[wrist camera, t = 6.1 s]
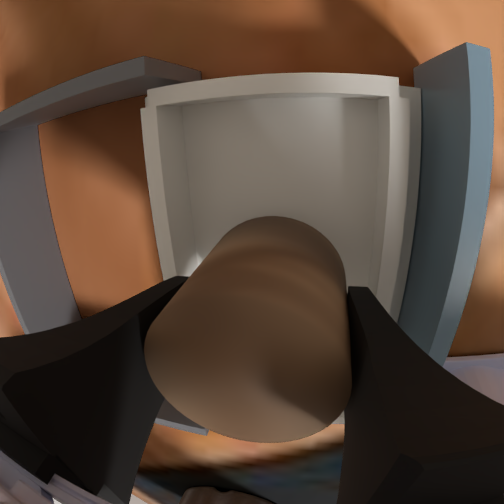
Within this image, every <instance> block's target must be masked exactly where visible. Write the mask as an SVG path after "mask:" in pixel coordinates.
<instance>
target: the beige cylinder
mask: <svg viewBox="0 0 504 504" xmlns="http://www.w3.org/2000/svg"><path fill="white" fill-rule="evenodd" d="M144 355H145V362H146V366H147V369H148V371H149V374H150V376H151V378H152V380H153V382H154V384H155V385H156V387H157V388H158V390H159V391H160V393H161V394H162V395H163V396H164V397H165V398H166V400H167V401H168V402H169V403H170V404H171V405H172V406H173V407H175V408H176V409H177V410H178V411H179V412H181V413H182V414H183V415H184V416H186V417H187V418H189V419H190V420H192V421H193V422H195V423H197V424H199V425H201V426H202V427H204V428H206V429H209V430H211V431H213V432H216V433H218V434H221V435H224V436H227V437H231V438H234V439H239V440H244V441H250V442H258V443H279V442H288V441H293V440H298V439H302V438H305V437H308V436H311V435H313V434H315V433H317V432H319V431H321V430H323V429H324V428H326V427H328V426H329V425H330V424H331V423H333V422H334V421H335V420H336V419H337V418H338V417H339V416H340V415H341V413H342V412H343V411H344V409H345V407H346V406H347V404H348V401H349V398H350V395H351V389H352V370H351V345H350V327H349V314H348V300H347V286H346V276H345V270H344V266H343V262H342V260H341V258H340V255H339V254H338V252H337V250H336V249H335V247H334V246H333V245H332V243H331V242H330V241H329V240H328V239H327V238H326V237H325V236H324V235H323V234H322V233H320V232H319V231H318V230H316V229H315V228H313V227H312V226H310V225H308V224H306V223H304V222H301V221H298V220H296V219H292V218H287V217H280V216H264V217H258V218H253V219H250V220H247V221H245V222H243V223H240V224H238V225H237V226H235V227H234V228H232V229H231V230H230V231H228V232H227V233H226V234H225V235H224V236H223V237H222V239H221V240H220V241H219V242H218V243H217V244H216V246H215V247H214V248H213V249H212V250H211V252H210V253H209V254H208V255H207V256H206V258H205V259H204V260H203V261H202V262H201V264H200V265H199V266H198V267H197V268H196V270H195V271H194V272H193V273H192V274H191V276H190V277H189V278H188V279H187V281H186V282H185V283H184V284H183V285H182V287H181V288H180V289H179V290H178V292H177V293H176V294H175V295H174V296H173V298H172V299H171V300H170V301H169V303H168V304H167V305H166V306H165V308H164V309H163V310H162V311H161V313H160V314H159V315H158V316H157V318H156V319H155V320H154V321H153V323H152V324H151V326H150V328H149V330H148V332H147V335H146V338H145V345H144Z"/></svg>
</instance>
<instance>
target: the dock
mask: <svg viewBox="0 0 504 504" xmlns="http://www.w3.org/2000/svg"><path fill="white" fill-rule="evenodd" d="M200 80H201V71H198V70H194V69H191V68H188V67H184V66H181V65H177V64H173V63H170V62H166V61H162V60H158V59H154V58H150V57H146V56H142V57H138V58H135V59H131V60H128V61H124V62H121V63H117V64H114V65H111V66H108V67H105V68H102V69H99V70H96V71H93V72H90V73H87V74H84V75H82V76H79V77H76V78H74V79H71V80H69V81H66V82H64V83H61V84H59V85H56V86H54V87H52V88H49V89H47V90H45V91H42V92H40V93H38V94H36V95H34V96H32V97H29V98H27V99H25V100H23V101H21V102H19V103H17V104H15V105H13V106H11V107H9V108H7V109H6V110H4V111H2V112H0V273H1V276H2V279H3V282H4V284H5V287H6V290H7V292H8V295H9V298H10V300H11V303H12V305H13V308H14V310H15V312H16V315H17V317H18V319H19V322H20V324H21V326H22V328H23V331H24V333H25V335H26V334H31V333H36V332H41V331H45V330H49V329H53V328H56V327H60V326H63V325H67V324H70V323H73V322H76V321H79V320H82V319H81V316H80V313H79V310H78V307H77V305H76V302H75V299H74V296H73V293H72V290H71V287H70V283H69V280H68V277H67V274H66V270H65V267H64V263H63V260H62V256H61V253H60V249H59V245H58V241H57V237H56V233H55V229H54V225H53V220H52V216H51V211H50V206H49V201H48V196H47V191H46V185H45V179H44V173H43V167H42V160H41V152H40V144H39V135H38V125H39V124H42V123H44V122H47V121H50V120H53V119H56V118H59V117H62V116H65V115H68V114H71V113H75V112H78V111H81V110H85V109H88V108H92V107H95V106H99V105H103V104H107V103H111V102H115V101H119V100H123V99H127V98H132V97H136V96H141V95H146V94H147V90H148V89H153V88H158V87H163V86H169V85H174V84H180V83H186V82H193V81H200ZM154 423H157V424H160V425H164V426H168V427H172V428H175V429H179V430H183V431H188V432H192V433H196V434H201V435H206V436H207V434H208V432H209V429H206V428H204V427H202V426H201V425H199V424H197V423H195V422H193V421H192V420H190V419H189V418H187V417H186V416H184V415H183V414H182V413H181V412H179V411H178V410H177V409H176V408H175V407H173V406H172V405H171V404H170V403H169V402H168V401H167V400H166V398H165V399H164V401H163V403H162V405H161V407H160V410H159V412H158V414H157V417H156V419H155V422H154Z"/></svg>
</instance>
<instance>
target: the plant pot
mask: <svg viewBox="0 0 504 504" xmlns="http://www.w3.org/2000/svg"><path fill="white" fill-rule="evenodd" d="M179 504H273V503H271V502H269V501H267V500H265V499H262V498H260V497H257V496H254V495H249V494H246V493H243V492H238V491H234V490H230V491H228V492H220V491H218V490H217V489H216V488H215V487H192V488H189V489H187V490H186V491H185V493H184V494H183V496H182V498H181V500H180V502H179Z"/></svg>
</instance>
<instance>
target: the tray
mask: <svg viewBox="0 0 504 504" xmlns="http://www.w3.org/2000/svg"><path fill="white" fill-rule="evenodd" d="M413 73H414V87H408V86H399V77H391V76H380V75H368V74H351V73H274V74H257V75H244V76H233V77H224V78H215V79H207V80H200V81H193V82H186V83H180V84H174V85H169V86H163V87H158V88H153V89H148V90H147V97H145V108H141V109H140V111H141V123H142V135H143V145H144V155H145V164H146V172H147V181H148V188H149V196H150V203H151V210H152V217H153V223H154V229H155V236H156V242H157V247H158V253H159V259H160V264H161V270H162V275H163V280H164V281H165V280H167V279H169V278H172V277H174V276H188V277H190V276H191V274H192V273H193V272H194V271H195V270H196V268H197V267H198V266H199V265H200V264H201V262H202V261H203V260H204V259H205V258H206V256H207V255H208V254H209V253H210V252H211V250H212V249H213V248H214V247H215V246H216V244H217V243H218V242H219V241H220V240H221V239H222V237H223V236H224V235H225V234H226V233H227V232H228V231H230V230H231V229H232V228H234V227H235V226H237V225H238V224H240V223H243V222H245V221H247V220H250V219H253V218H258V217H264V216H280V217H287V218H292V219H296V220H298V221H301V222H304V223H306V224H308V225H310V226H312V227H313V228H315V229H316V230H318V231H319V232H320V233H322V234H323V235H324V236H325V237H326V238H327V239H328V240H329V241H330V242H331V243H332V245H333V246H334V247H335V249H336V250H337V252H338V254H339V255H340V258H341V260H342V262H343V266H344V270H345V276H346V286H347V293H348V286H360V287H368V288H369V289H370V290H371V292H372V293H373V294H374V296H375V297H376V298H377V299H378V301H379V302H380V303H381V305H382V306H383V307H384V309H385V310H386V311H387V312H388V314H389V315H390V316H391V317H392V318H393V320H394V321H395V322H396V323H397V324H398V325H399V327H400V328H401V329H402V330H403V331H404V332H405V333H406V334H407V335H408V336H409V337H410V338H411V339H412V340H413V341H414V342H415V343H416V344H417V345H418V346H419V347H420V348H421V349H422V350H423V351H424V352H425V353H427V354H428V355H429V356H430V357H431V358H432V359H433V360H435V361H436V362H437V363H438V364H439V365H441V366H442V367H443V365H444V363H445V360H446V358H447V355H448V353H449V350H450V347H451V345H452V342H453V339H454V337H455V334H456V331H457V328H458V325H459V322H460V319H461V316H462V313H463V310H464V307H465V303H466V300H467V297H468V293H469V290H470V286H471V282H472V279H473V275H474V271H475V267H476V263H477V258H478V254H479V249H480V245H481V240H482V234H483V229H484V224H485V218H486V211H487V205H488V197H489V189H490V180H491V170H492V157H493V137H494V97H493V77H492V65H491V55H490V49H489V48H485V47H482V46H478V45H475V44H471V43H467V42H466V43H463V44H461V45H459V46H457V47H455V48H453V49H451V50H449V51H447V52H444V53H442V54H440V55H438V56H436V57H434V58H432V59H430V60H428V61H426V62H424V63H422V64H420V65H418V66H416V67H415V68H413ZM331 424H345V420H344V411H343V412H342V413H341V415H340V416H339V417H338V418H337V419H336V420H335V421H334V422H333V423H331Z"/></svg>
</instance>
